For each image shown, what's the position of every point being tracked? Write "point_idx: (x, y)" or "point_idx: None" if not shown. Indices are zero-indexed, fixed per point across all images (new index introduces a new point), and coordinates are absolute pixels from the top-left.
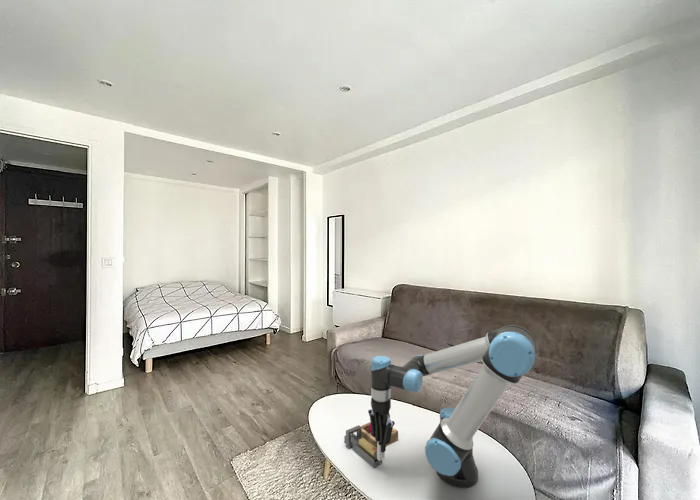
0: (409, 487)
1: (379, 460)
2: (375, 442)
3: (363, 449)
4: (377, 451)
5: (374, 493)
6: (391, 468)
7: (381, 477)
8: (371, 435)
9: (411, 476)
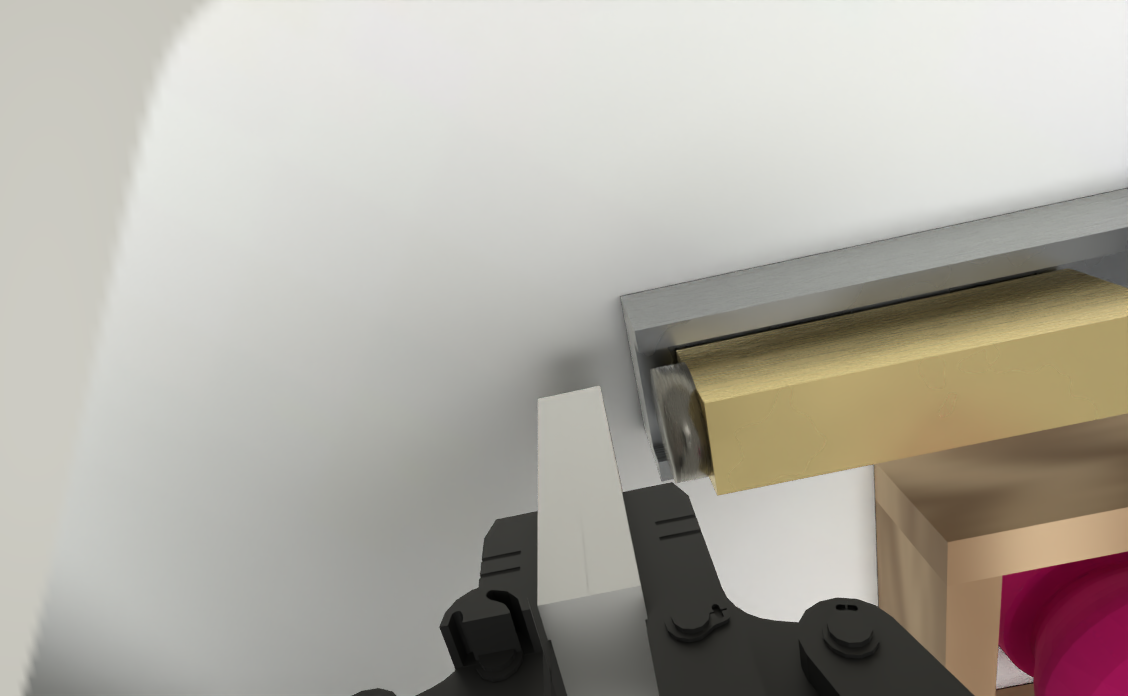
0: (174, 512)
1: (542, 401)
2: (951, 529)
3: (952, 303)
4: (600, 456)
5: (175, 75)
6: (519, 483)
7: (425, 307)
8: (1118, 548)
9: (324, 602)
